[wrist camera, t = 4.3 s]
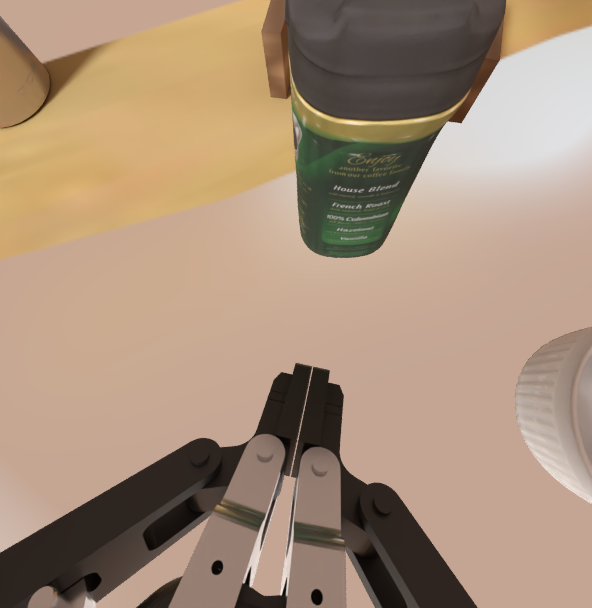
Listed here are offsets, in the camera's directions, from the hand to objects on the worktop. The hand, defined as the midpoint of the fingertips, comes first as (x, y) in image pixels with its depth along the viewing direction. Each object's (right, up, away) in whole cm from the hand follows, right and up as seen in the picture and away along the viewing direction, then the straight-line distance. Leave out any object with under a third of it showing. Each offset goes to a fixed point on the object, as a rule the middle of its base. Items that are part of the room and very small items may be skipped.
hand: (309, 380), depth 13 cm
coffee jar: (+4, +12, +14) cm, 19 cm away
